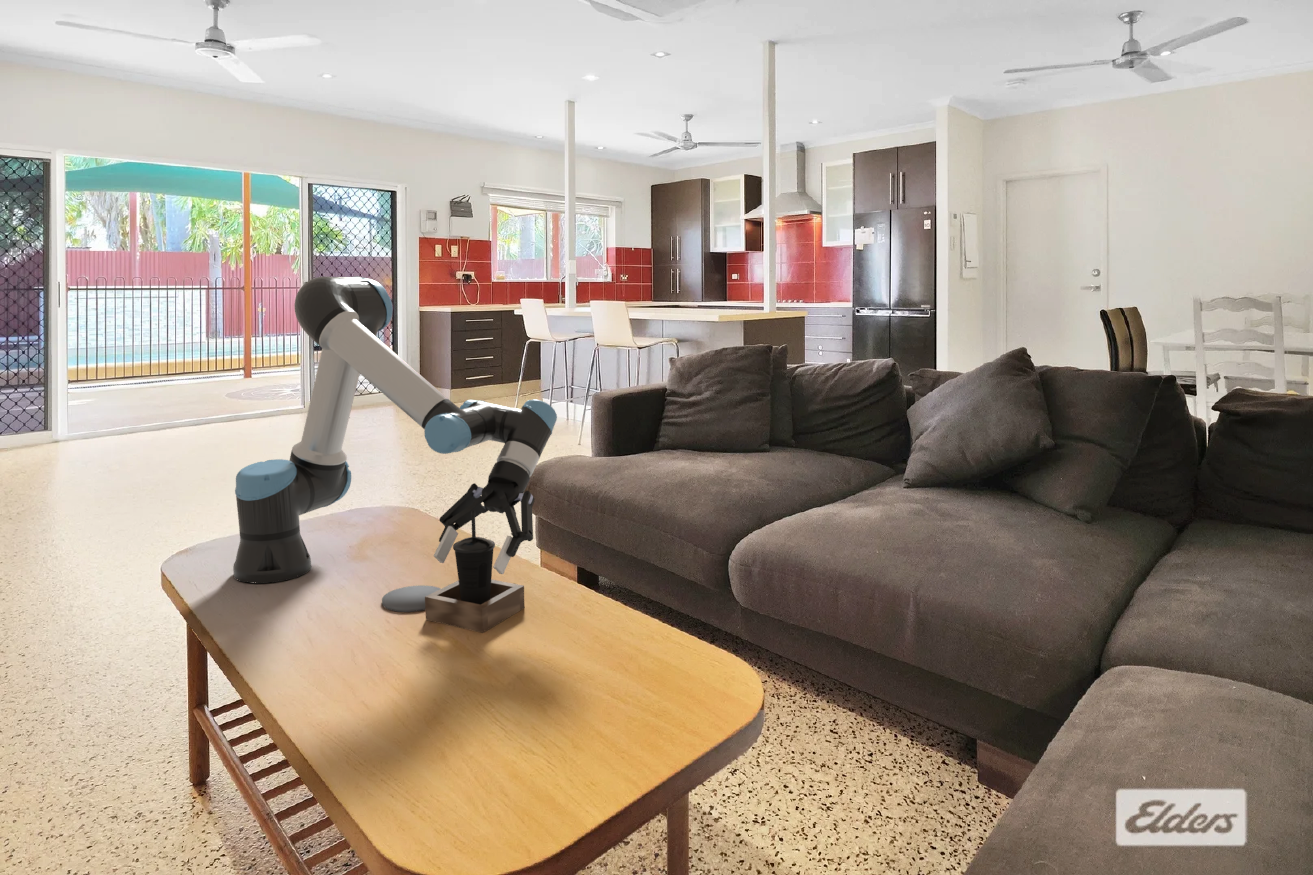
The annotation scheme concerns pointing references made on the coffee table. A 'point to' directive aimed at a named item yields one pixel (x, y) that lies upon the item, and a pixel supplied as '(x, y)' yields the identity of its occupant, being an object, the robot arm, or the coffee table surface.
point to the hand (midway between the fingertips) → (467, 565)
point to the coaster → (407, 598)
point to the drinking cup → (474, 566)
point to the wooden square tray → (474, 606)
